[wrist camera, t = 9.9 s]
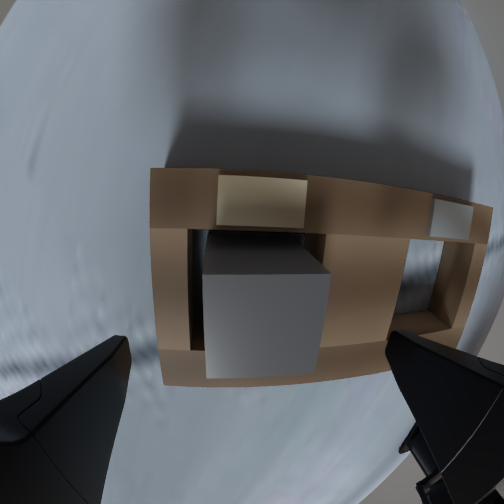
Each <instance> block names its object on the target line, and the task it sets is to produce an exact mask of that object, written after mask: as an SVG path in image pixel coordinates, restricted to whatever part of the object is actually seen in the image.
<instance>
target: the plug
mask: <svg viewBox="0 0 504 504" xmlns="http://www.w3.org/2000/svg"><path fill="white" fill-rule="evenodd" d="M331 275H332V274H331V273H330V272H329V271H328V270H327V269H326V268H325V267H324V266H323V265H322V264H321V263H320V262H319V261H318V260H316V259H315V258H314V257H313V256H312V255H311V254H310V253H309V252H308V251H307V250H306V249H305V248H303V247H302V246H301V245H300V244H299V243H298V242H297V241H296V240H295V239H294V238H293V237H291V236H290V235H228V234H208V236H207V243H206V250H205V258H204V266H203V274H202V281H203V317H204V341H205V360H206V376H207V378H253V377H271V376H285V375H296V374H306V373H315V368H316V363H317V358H318V353H319V348H320V343H321V338H322V332H323V326H324V321H325V315H326V308H327V302H328V296H329V289H330V282H331Z"/></svg>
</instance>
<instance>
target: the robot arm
mask: <svg viewBox="0 0 504 504" xmlns="http://www.w3.org/2000/svg"><path fill="white" fill-rule="evenodd" d="M385 356H386V358H387V361H388V363H389V365H390V368H391V370H392V373H393V375H394V377H395V380H396V382H397V385H398V387H399V389H400V391H401V393H402V395H403V397H404V399H405V400H406V402H407V404H408V406H409V408H410V410H411V412H412V414H413V416H414V418H415V420H416V422H417V423H416V425H415V426H414V428H413V429H412V431H411V433H410V434H409V436H408V437H407V439H406V440H405V442H404V443H403V445H402V446H401V448H400V449H399V453H400V454H402V453H405V452H407V451H411V453H412V454H413V456H414V458H415V459H416V461H417V462H418V464H419V466H420V467H421V469H422V471H423V472H424V474H425V475H426V478H424V479H423V480H421V481H419V482H418V483H416V485H417V486H416V489H417V491H418V493H419V495H420V497H421V500H422V504H504V365H502V364H498V363H495V362H492V361H489V360H486V359H483V358H480V357H477V356H474V355H471V354H468V353H466V352H463V351H460V350H457V349H454V348H452V347H449V346H446V345H443V344H440V343H438V342H435V341H432V340H429V339H427V338H424V337H421V336H418V335H416V334H413V333H410V332H407V331H405V330H402V329H400V330H393V331H392V332H391V333H390V335H389V339H388V342H387V345H386V348H385ZM130 369H131V353H130V348H129V342H128V339H127V337H126V336H119V335H114V336H112V337H111V338H109V339H107V340H106V341H104V342H102V343H101V344H99V345H97V346H96V347H94V348H92V349H90V350H89V351H87V352H85V353H84V354H82V355H80V356H79V357H77V358H75V359H73V360H72V361H70V362H68V363H67V364H65V365H63V366H62V367H60V368H58V369H57V370H55V371H53V372H51V373H50V374H48V375H46V376H45V377H43V378H41V380H38V381H36V382H34V383H33V384H31V385H29V386H27V387H26V388H24V389H22V390H20V391H18V392H16V393H14V394H12V395H10V396H8V397H6V398H4V399H2V400H0V504H101V499H102V494H103V489H104V484H105V479H106V475H107V470H108V466H109V461H110V457H111V453H112V449H113V445H114V441H115V437H116V433H117V429H118V426H119V422H120V418H121V415H122V411H123V407H124V403H125V398H126V392H127V386H128V380H129V374H130Z"/></svg>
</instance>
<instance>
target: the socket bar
mask: <svg viewBox="0 0 504 504" xmlns="http://www.w3.org/2000/svg"><path fill="white" fill-rule="evenodd" d="M492 212H493V207H489V206H485V205H481V204H477V203H473V202H469V201H465V200H460V199H456V198H452V197H447V196H443V195H438V194H433V193H428V192H423V191H418V190H412V189H407V188H401V187H395V186H389V185H383V184H377V183H370V182H364V181H356V180H349V179H341V178H333V177H324V176H315V175H306V174H295V173H283V172H271V171H256V170H238V169H213V168H151V172H150V248H151V271H152V287H153V300H154V312H155V322H156V331H157V340H158V348H159V356H160V363H161V370H162V377H163V383H164V385H169V386H188V387H257V386H277V385H291V384H302V383H312V382H321V381H329V380H337V379H344V378H351V377H357V376H363V375H369V374H375V373H380V372H385V371H390V370H391V368H390V365H389V363H388V361H387V358H386V356H385V348H386V345H387V342H388V339H389V335H390V333H391V332H392V331H393V330H400V329H402V330H405V331H407V332H410V333H413V334H416V335H418V336H421V337H424V338H427V339H429V340H432V341H435V342H438V343H440V344H443V345H446V346H449V347H452V348H454V349H456V347H457V345H458V342H459V340H460V337H461V335H462V332H463V329H464V327H465V324H466V321H467V318H468V315H469V312H470V309H471V306H472V303H473V300H474V296H475V293H476V289H477V286H478V282H479V278H480V275H481V271H482V266H483V262H484V258H485V253H486V248H487V243H488V238H489V232H490V226H491V219H492ZM193 229H214V230H246V231H274V232H298V233H305V242H304V248H305V249H306V250H307V251H308V252H309V253H310V254H311V255H312V256H313V257H314V258H315V259H316V260H318V261H319V262H320V263H321V264H322V265H323V266H324V267H325V268H326V269H327V270H328V271H329V272H330V273H331V274H332V275H331V282H330V289H329V296H328V302H327V308H326V315H325V321H324V326H323V332H322V338H321V343H320V348H319V353H318V358H317V363H316V368H315V373H306V374H296V375H285V376H271V377H253V378H207V376H206V360H205V341H204V321H194V310H193ZM410 239H423V240H437V241H445V242H444V247H443V252H442V257H441V262H440V266H439V271H438V275H437V279H436V283H435V287H434V291H433V295H432V298H431V302H430V305H429V309H428V310H427V311H419V312H410V313H401V314H393V313H394V309H395V306H396V302H397V298H398V294H399V290H400V285H401V281H402V276H403V272H404V267H405V262H406V257H407V251H408V246H409V240H410Z"/></svg>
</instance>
